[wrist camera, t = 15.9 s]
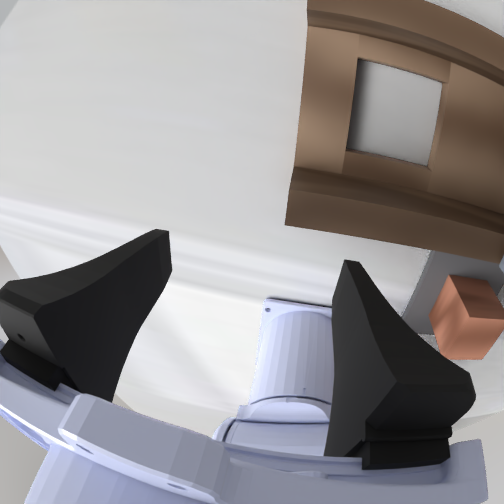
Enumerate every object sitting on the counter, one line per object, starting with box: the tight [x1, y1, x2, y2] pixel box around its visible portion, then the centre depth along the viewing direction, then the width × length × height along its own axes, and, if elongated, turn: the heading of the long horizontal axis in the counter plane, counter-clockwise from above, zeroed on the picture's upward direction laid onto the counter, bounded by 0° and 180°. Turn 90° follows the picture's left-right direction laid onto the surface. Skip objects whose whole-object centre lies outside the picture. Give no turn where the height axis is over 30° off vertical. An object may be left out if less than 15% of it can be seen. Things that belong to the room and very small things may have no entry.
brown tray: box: [285, 0, 504, 264], centre depth 13 cm, size 14×23×5 cm, turn 86°
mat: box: [402, 250, 504, 335], centre depth 21 cm, size 9×9×1 cm
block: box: [428, 275, 504, 360], centre depth 19 cm, size 4×4×5 cm
